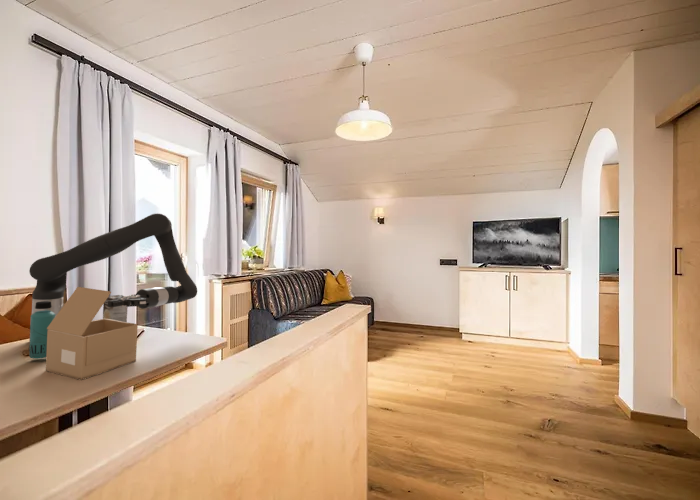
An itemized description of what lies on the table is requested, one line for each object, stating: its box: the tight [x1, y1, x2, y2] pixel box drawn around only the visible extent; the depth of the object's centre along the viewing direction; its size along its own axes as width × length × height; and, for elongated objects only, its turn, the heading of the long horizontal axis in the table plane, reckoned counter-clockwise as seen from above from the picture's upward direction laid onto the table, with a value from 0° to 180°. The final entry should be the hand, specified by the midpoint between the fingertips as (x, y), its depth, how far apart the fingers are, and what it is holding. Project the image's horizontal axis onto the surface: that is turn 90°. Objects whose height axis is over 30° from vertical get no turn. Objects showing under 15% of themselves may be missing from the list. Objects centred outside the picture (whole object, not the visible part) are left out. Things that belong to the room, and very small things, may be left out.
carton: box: [45, 318, 138, 381], centre depth 113 cm, size 17×18×13 cm
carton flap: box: [47, 286, 112, 336], centre depth 108 cm, size 15×15×1 cm
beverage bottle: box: [28, 301, 55, 360], centre depth 115 cm, size 6×7×20 cm
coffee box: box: [102, 294, 129, 322], centre depth 150 cm, size 9×6×16 cm
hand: (109, 304), depth 117 cm, fingers closed
